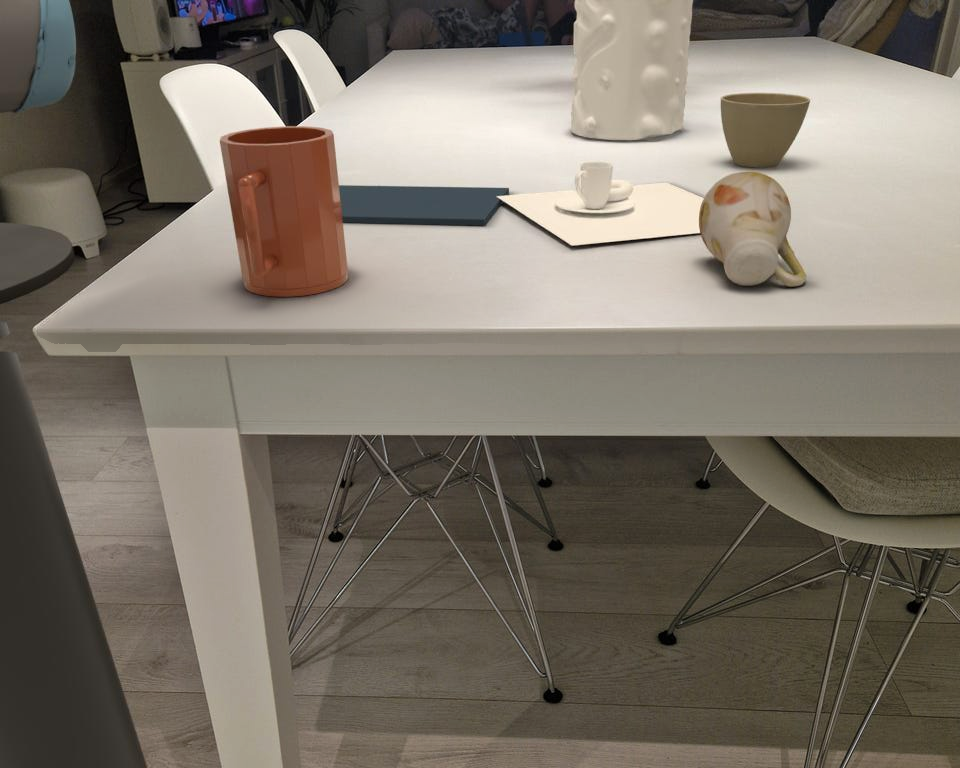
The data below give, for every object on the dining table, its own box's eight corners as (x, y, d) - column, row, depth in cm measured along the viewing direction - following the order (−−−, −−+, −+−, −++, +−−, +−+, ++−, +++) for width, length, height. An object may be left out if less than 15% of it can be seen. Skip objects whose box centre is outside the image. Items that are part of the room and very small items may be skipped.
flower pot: (746, 175, 105) (755, 106, 101) (697, 160, 112) (703, 96, 108) (818, 166, 108) (829, 99, 104) (765, 153, 115) (774, 89, 111)
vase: (559, 125, 138) (563, -141, 120) (665, 120, 139) (685, -144, 121) (580, 145, 123) (589, -154, 106) (698, 139, 124) (727, -157, 107)
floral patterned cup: (705, 297, 69) (687, 164, 69) (712, 315, 79) (696, 198, 78) (810, 276, 67) (792, 138, 66) (804, 297, 76) (788, 176, 76)
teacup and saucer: (619, 195, 96) (623, 154, 94) (655, 213, 90) (659, 168, 88) (541, 202, 94) (543, 159, 92) (573, 220, 87) (575, 175, 85)
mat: (289, 221, 92) (288, 215, 92) (334, 190, 104) (333, 185, 103) (484, 225, 89) (484, 219, 88) (509, 193, 100) (509, 187, 100)
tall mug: (268, 264, 79) (247, 126, 73) (361, 267, 78) (347, 126, 72) (210, 307, 70) (181, 152, 64) (315, 311, 68) (295, 153, 62)
